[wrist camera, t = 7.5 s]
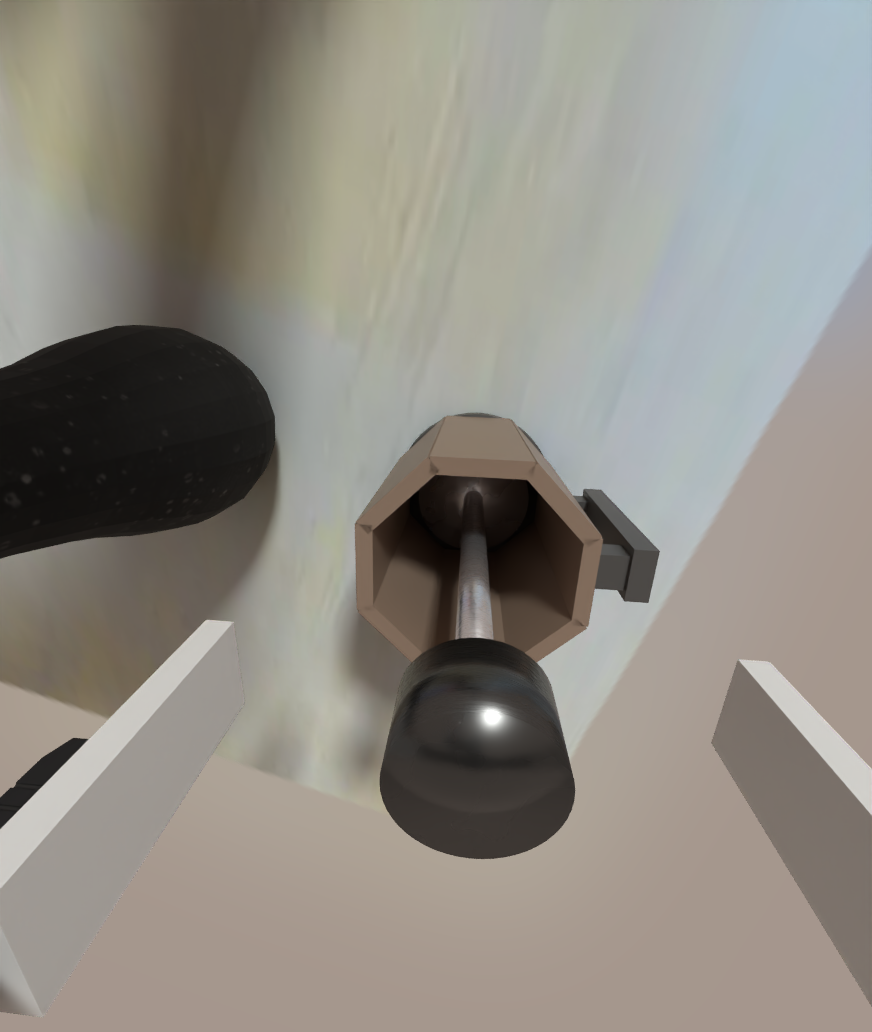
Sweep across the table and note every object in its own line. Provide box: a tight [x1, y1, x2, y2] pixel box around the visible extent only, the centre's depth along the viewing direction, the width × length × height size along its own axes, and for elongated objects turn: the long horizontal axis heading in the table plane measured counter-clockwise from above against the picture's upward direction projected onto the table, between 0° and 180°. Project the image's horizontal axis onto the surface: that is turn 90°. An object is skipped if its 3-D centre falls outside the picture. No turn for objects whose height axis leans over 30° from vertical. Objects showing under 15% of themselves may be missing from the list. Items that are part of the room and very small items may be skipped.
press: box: [355, 413, 660, 662], centre depth 25 cm, size 10×12×13 cm
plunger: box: [380, 475, 575, 859], centre depth 19 cm, size 7×7×21 cm
